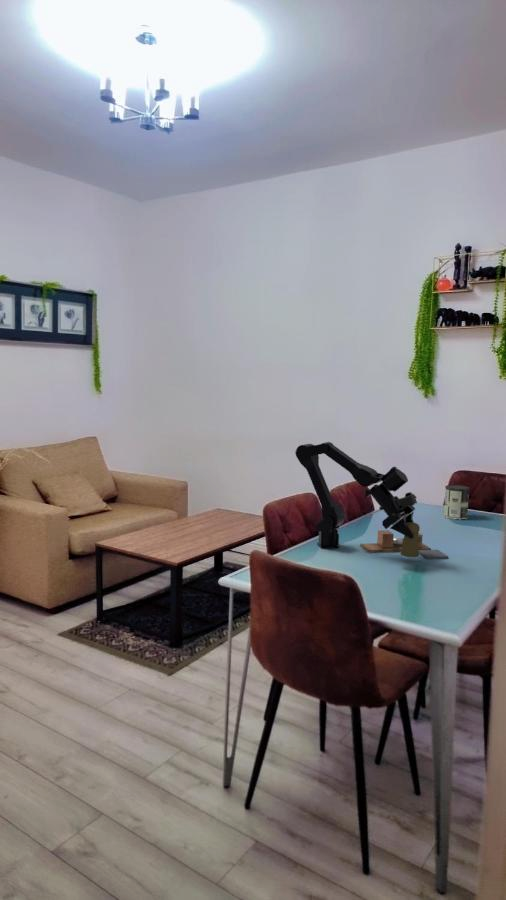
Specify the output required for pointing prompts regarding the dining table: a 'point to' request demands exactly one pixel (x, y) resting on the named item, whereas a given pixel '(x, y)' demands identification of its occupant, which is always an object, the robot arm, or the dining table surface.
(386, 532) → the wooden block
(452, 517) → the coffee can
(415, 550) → the cork
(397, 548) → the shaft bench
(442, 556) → the seat pad
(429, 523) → the dining table surface
